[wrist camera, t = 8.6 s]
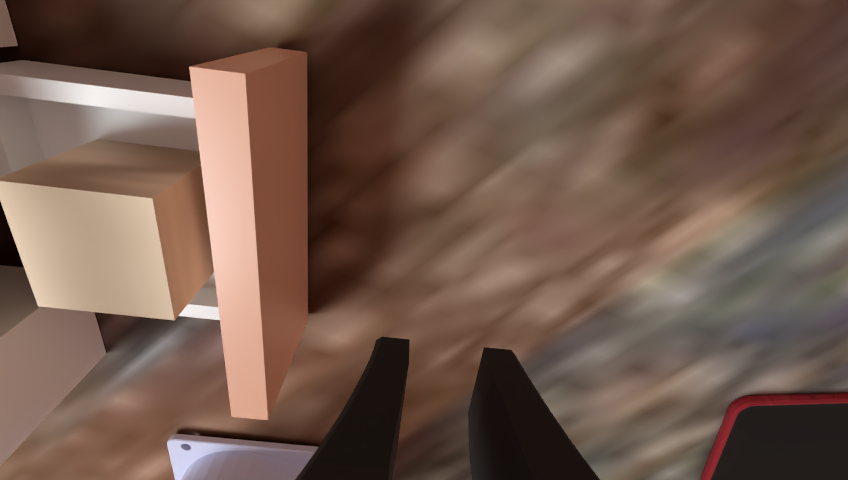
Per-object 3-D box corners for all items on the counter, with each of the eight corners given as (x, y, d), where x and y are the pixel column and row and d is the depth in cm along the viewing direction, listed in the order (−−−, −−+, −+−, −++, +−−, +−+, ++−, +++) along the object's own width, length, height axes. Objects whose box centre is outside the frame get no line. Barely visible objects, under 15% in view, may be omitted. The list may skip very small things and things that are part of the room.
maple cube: (218, 153, 15) (152, 198, 11) (228, 254, 17) (174, 320, 13) (98, 138, 15) (-7, 180, 11) (121, 242, 17) (37, 306, 13)
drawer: (307, 52, 14) (245, 73, 10) (308, 319, 19) (267, 420, 15) (9, 12, 14) (-212, 14, 9) (90, 296, 19) (-24, 392, 14)
